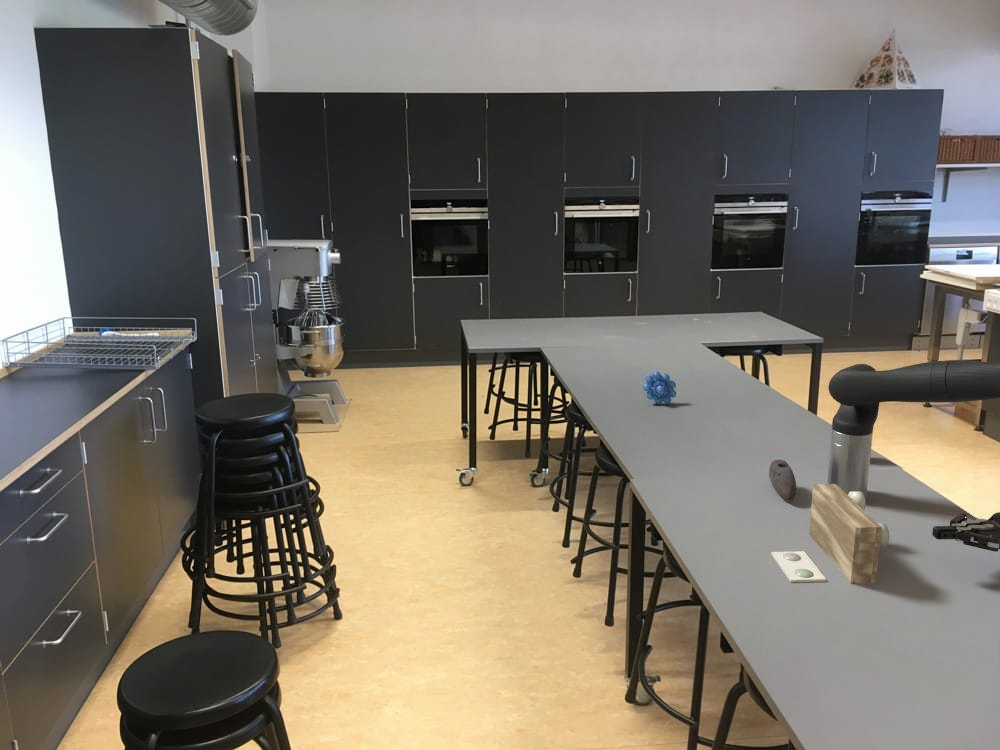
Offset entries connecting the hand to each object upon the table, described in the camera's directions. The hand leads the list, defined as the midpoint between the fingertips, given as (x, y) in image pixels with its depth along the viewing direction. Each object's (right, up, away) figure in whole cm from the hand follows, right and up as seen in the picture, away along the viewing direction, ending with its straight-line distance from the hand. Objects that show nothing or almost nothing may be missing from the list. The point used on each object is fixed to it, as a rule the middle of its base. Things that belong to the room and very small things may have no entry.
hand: (934, 532), depth 160 cm
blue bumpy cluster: (-31, +21, +120) cm, 125 cm away
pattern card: (-25, -8, +6) cm, 27 cm away
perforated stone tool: (-15, +1, +43) cm, 46 cm away
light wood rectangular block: (-14, -7, +10) cm, 19 cm away
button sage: (-13, -2, +1) cm, 13 cm away
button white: (-10, +2, +16) cm, 19 cm away
